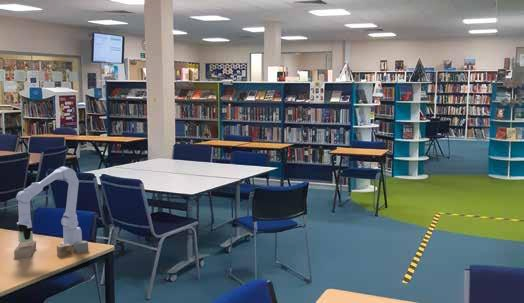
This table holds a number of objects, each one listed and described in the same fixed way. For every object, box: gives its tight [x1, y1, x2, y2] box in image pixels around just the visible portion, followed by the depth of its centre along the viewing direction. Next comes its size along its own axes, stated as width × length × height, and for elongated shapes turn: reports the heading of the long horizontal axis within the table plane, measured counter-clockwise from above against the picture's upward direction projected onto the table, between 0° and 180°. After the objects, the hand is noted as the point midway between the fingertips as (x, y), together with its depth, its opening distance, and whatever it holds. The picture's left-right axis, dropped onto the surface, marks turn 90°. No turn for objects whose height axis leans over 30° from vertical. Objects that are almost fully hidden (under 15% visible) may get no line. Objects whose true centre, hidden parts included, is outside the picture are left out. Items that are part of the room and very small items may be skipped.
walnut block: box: [56, 243, 72, 257], centre depth 273 cm, size 6×4×5 cm, turn 133°
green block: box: [17, 231, 34, 243], centre depth 274 cm, size 6×4×5 cm, turn 133°
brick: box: [13, 240, 37, 259], centre depth 275 cm, size 17×8×5 cm, turn 14°
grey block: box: [73, 240, 89, 254], centre depth 278 cm, size 6×4×5 cm, turn 133°
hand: (25, 238), depth 274 cm, fingers closed on green block, 4 cm apart
